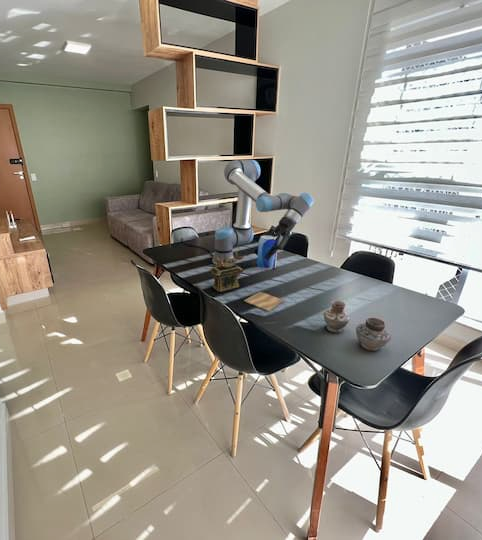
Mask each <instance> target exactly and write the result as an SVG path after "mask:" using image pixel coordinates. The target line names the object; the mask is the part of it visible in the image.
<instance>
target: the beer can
mask: <svg viewBox="0 0 482 540" xmlns="http://www.w3.org/2000/svg"><path fill="white" fill-rule="evenodd" d="M263 235H264V234H263ZM263 235H261V236H260V238H259V239H258V243H257V246H258V255H256V257H257V259H256V266H257V268H258V269H259V270H262V271H263V270H264V271H269V270H272V269H273V268H272V267H274V259H275V254H274V255H272V256H271V258H270V259H269V260H267V259H266V258H265V255H266V254H267V253H268V252H269V251H270V249H271V248H272V247H274V246H275V244H276V241H277V240H276V239H275V237H273V236H269V235H264V236H263ZM274 248H275V247H274Z"/></svg>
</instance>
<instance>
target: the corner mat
mask: <svg viewBox="0 0 482 540" xmlns="http://www.w3.org/2000/svg"><path fill="white" fill-rule="evenodd" d="M284 301H285V300H284V299H282V298H279V297H277V296H273V295H272V294H268V293H265V292H263V291H259V292H257V293H255V294H252V295H251V296H250V297H248V298H246V299H243V302H244V303H246V304H248V305H251V306H254V307H256V308H258V309H261V310H263V311H266V312H269V311H271V310H272V309H274V308H276V307H278V306H279V305H280V304H282V303H283V302H284Z"/></svg>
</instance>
